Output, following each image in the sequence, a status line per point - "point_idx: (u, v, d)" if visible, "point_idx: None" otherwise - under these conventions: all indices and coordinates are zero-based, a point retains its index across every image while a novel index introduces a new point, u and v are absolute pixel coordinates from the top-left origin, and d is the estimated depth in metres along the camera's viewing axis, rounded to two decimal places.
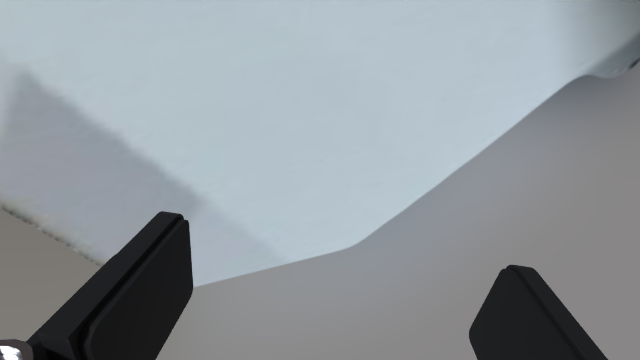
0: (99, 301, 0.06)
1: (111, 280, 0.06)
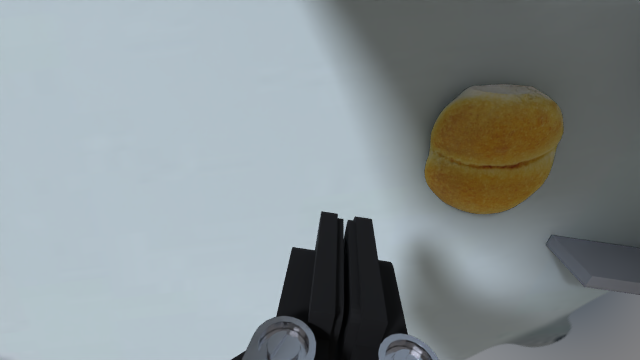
0: (335, 287, 0.07)
1: (329, 270, 0.07)
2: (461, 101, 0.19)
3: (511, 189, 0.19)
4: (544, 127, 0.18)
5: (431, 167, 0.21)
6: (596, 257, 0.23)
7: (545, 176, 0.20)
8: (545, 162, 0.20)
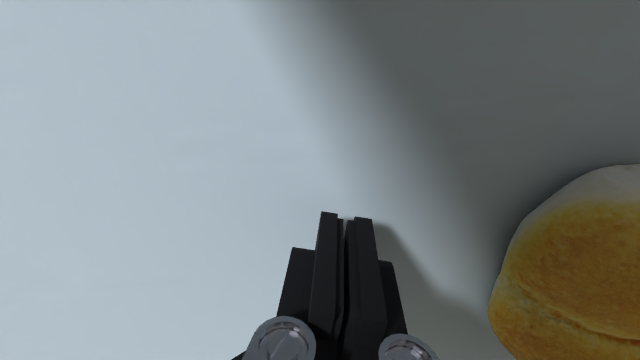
0: (335, 287, 0.07)
1: (329, 270, 0.07)
2: (590, 207, 0.09)
3: None
4: None
5: (507, 313, 0.11)
6: None
7: None
8: None
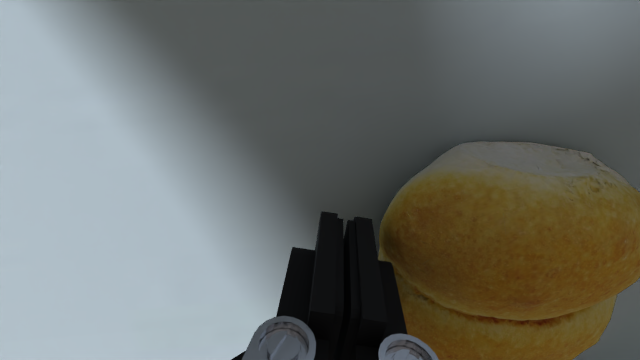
0: (335, 287, 0.07)
1: (329, 270, 0.07)
2: (440, 178, 0.09)
3: None
4: (627, 261, 0.07)
5: None
6: None
7: (602, 332, 0.10)
8: (605, 308, 0.09)
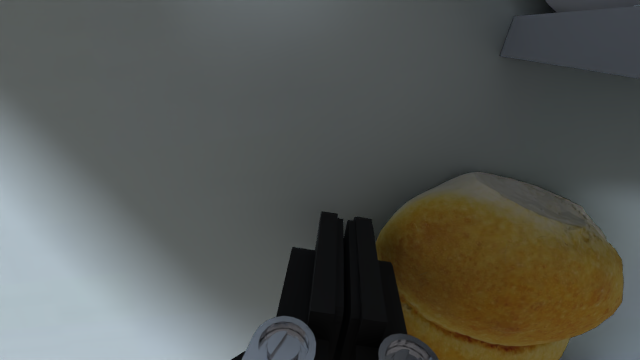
0: (335, 287, 0.07)
1: (329, 270, 0.07)
2: (453, 199, 0.09)
3: None
4: (598, 308, 0.08)
5: None
6: None
7: None
8: (561, 346, 0.10)
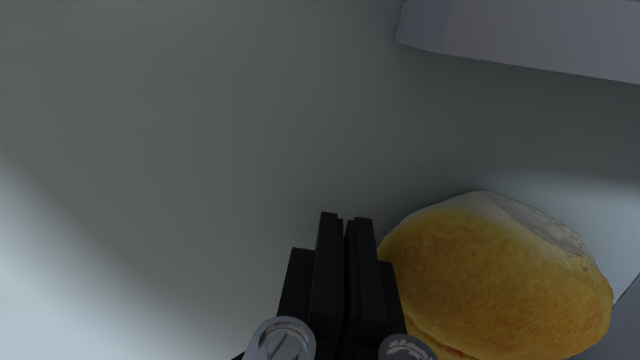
0: (335, 287, 0.07)
1: (329, 269, 0.07)
2: (463, 215, 0.09)
3: None
4: (589, 335, 0.09)
5: None
6: None
7: None
8: None
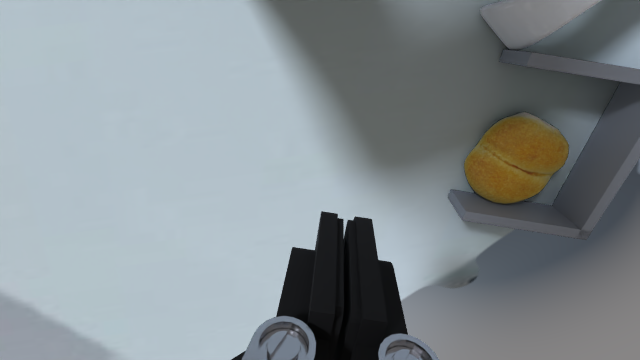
0: (335, 287, 0.07)
1: (329, 269, 0.07)
2: (518, 117, 0.28)
3: (521, 187, 0.29)
4: (560, 154, 0.27)
5: (475, 155, 0.30)
6: (477, 202, 0.31)
7: (541, 189, 0.30)
8: (545, 179, 0.29)
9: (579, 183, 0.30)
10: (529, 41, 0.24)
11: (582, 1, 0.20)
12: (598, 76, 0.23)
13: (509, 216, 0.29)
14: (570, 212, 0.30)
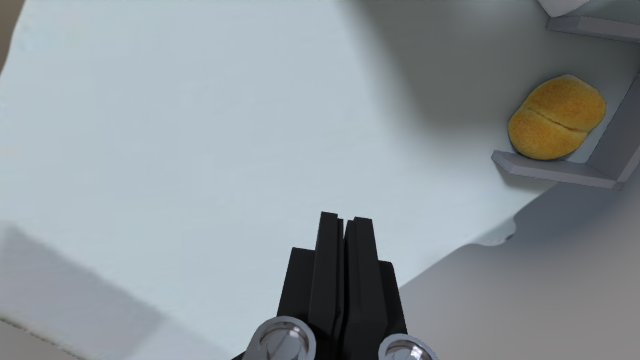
0: (335, 287, 0.07)
1: (329, 269, 0.07)
2: (561, 79, 0.31)
3: (562, 142, 0.32)
4: (599, 110, 0.30)
5: (520, 114, 0.33)
6: (521, 159, 0.34)
7: (579, 145, 0.33)
8: (583, 136, 0.33)
9: (613, 140, 0.33)
10: (572, 6, 0.27)
11: None
12: (639, 37, 0.26)
13: (551, 169, 0.33)
14: (605, 167, 0.34)
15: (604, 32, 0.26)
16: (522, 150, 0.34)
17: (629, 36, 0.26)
